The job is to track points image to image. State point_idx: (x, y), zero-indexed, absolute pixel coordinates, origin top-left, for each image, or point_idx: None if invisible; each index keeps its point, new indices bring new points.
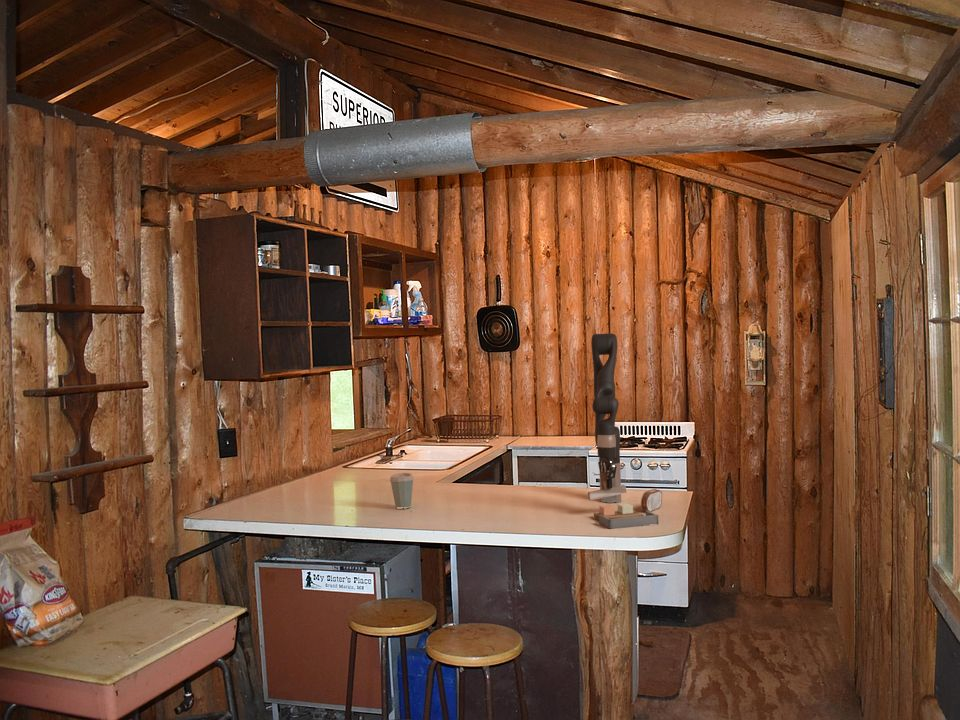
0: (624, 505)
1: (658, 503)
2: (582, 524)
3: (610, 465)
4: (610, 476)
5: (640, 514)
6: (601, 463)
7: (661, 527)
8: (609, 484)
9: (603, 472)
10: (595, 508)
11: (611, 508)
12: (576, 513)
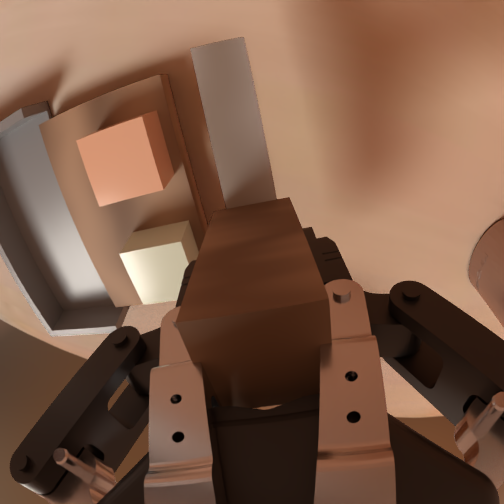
0: (142, 268)
1: None
2: (51, 21)
3: (20, 481)
4: (103, 357)
5: (120, 299)
6: (356, 501)
7: (30, 308)
8: (183, 284)
9: (241, 349)
10: (420, 147)
11: (96, 186)
12: (325, 7)
